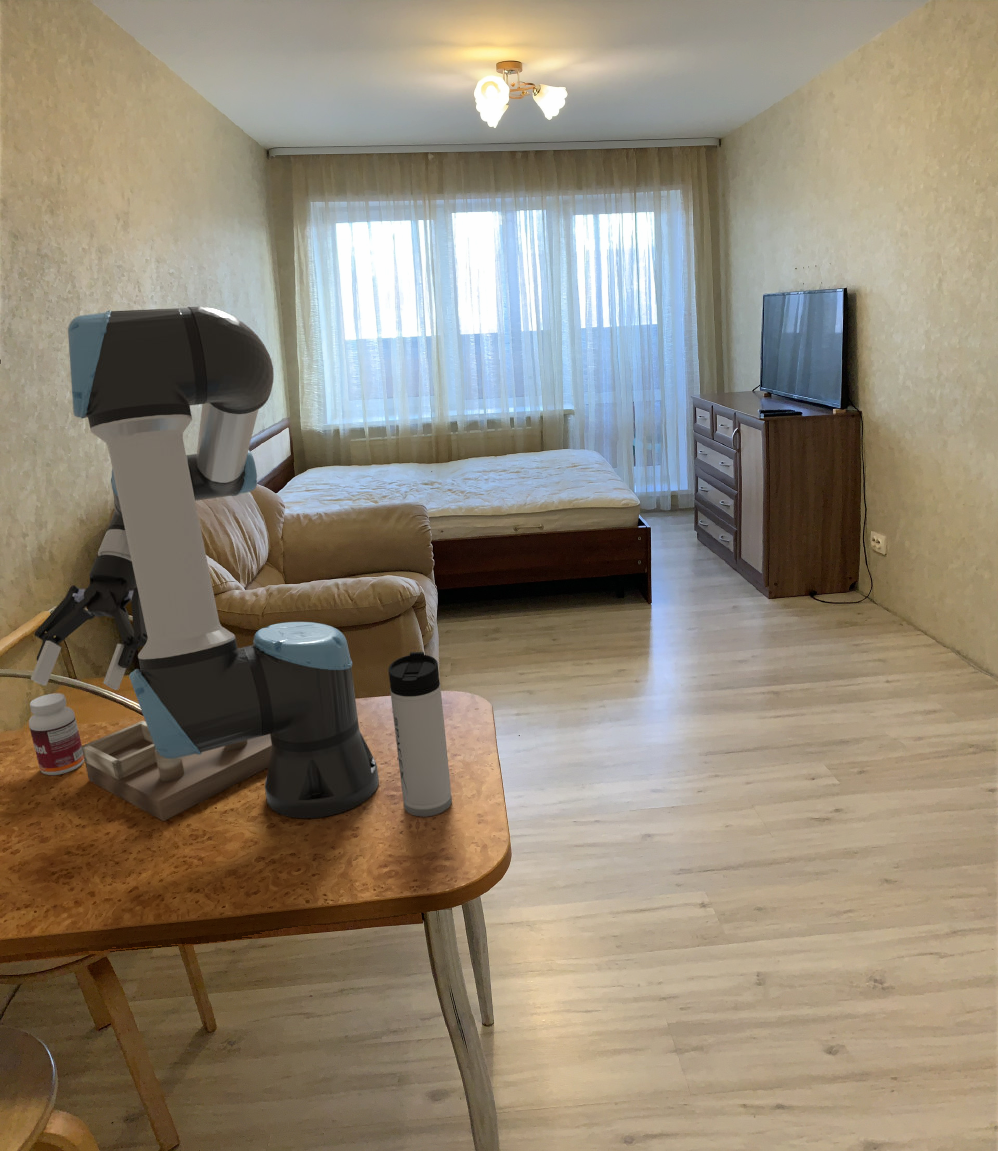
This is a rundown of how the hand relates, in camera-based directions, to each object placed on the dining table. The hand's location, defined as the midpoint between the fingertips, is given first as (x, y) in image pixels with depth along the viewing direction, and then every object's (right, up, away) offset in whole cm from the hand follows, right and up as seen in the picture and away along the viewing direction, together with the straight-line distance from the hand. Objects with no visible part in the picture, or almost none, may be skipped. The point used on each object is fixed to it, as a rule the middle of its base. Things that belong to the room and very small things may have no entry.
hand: (73, 684), depth 136 cm
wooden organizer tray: (+20, -11, -7) cm, 24 cm away
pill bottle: (0, -12, -3) cm, 12 cm away
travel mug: (+56, -13, -21) cm, 61 cm away
